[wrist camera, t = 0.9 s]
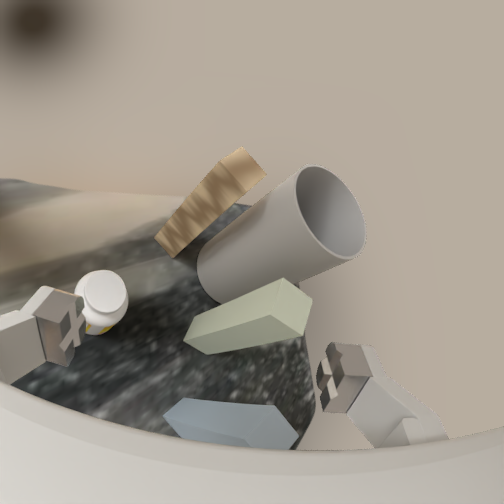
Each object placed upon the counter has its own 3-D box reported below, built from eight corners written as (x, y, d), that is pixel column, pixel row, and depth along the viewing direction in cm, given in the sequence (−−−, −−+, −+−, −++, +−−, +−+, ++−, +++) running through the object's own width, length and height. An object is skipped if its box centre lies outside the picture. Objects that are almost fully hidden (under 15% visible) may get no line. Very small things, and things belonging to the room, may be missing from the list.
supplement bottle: (118, 295, 44) (140, 269, 35) (111, 340, 41) (131, 328, 32) (75, 284, 41) (83, 253, 31) (66, 329, 38) (70, 313, 28)
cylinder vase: (268, 290, 60) (378, 242, 41) (216, 319, 52) (329, 275, 33) (237, 230, 61) (334, 160, 42) (182, 250, 53) (275, 170, 34)
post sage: (182, 340, 48) (270, 314, 31) (194, 316, 50) (283, 277, 34) (206, 354, 49) (302, 335, 32) (217, 330, 52) (313, 299, 35)
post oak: (154, 237, 51) (219, 160, 34) (172, 222, 54) (242, 146, 37) (172, 258, 52) (246, 191, 35) (189, 242, 54) (267, 174, 38)
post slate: (162, 415, 41) (244, 439, 25) (183, 397, 44) (274, 405, 28) (181, 437, 41) (271, 469, 25) (201, 419, 44) (299, 436, 28)
